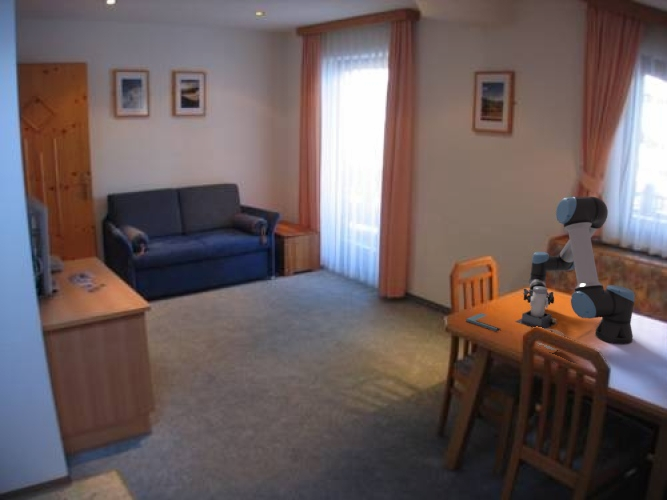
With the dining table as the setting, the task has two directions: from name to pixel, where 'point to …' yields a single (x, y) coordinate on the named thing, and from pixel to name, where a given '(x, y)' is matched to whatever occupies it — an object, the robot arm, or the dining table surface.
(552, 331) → the lidded jar
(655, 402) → the dining table surface
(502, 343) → the dining table surface
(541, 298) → the cylinder
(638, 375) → the dining table surface
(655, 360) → the dining table surface
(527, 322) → the housing
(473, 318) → the mat
